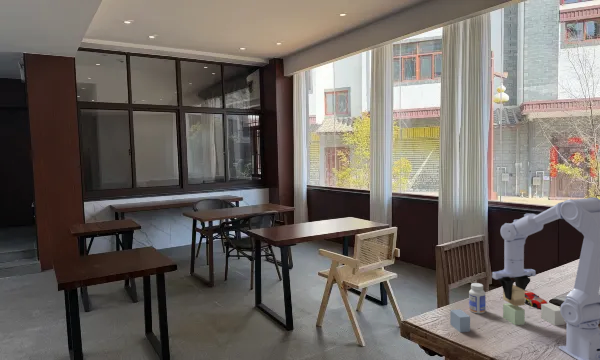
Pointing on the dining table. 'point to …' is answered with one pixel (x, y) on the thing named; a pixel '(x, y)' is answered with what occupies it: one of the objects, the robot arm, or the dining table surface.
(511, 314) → the sage brick
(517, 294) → the oak brick
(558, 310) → the grey brick
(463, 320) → the slate-blue brick
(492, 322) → the dining table surface
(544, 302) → the race car
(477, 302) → the pill bottle
